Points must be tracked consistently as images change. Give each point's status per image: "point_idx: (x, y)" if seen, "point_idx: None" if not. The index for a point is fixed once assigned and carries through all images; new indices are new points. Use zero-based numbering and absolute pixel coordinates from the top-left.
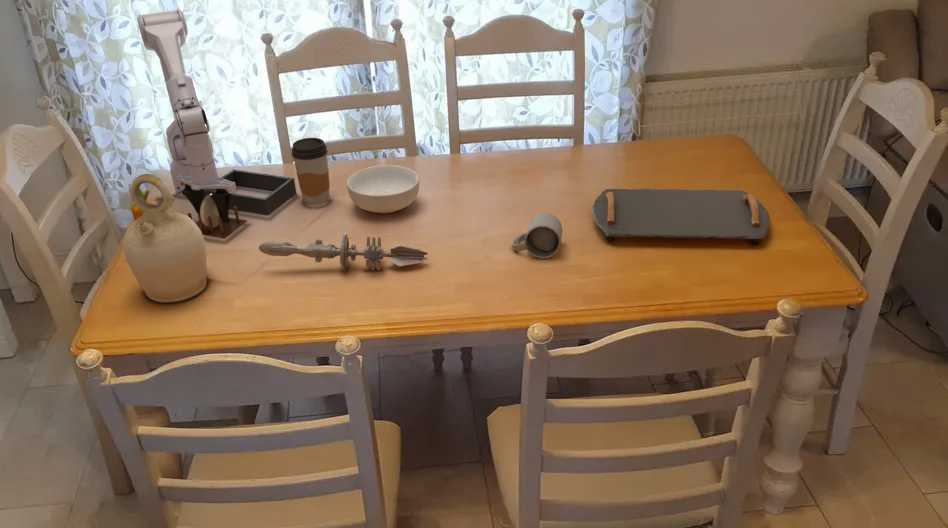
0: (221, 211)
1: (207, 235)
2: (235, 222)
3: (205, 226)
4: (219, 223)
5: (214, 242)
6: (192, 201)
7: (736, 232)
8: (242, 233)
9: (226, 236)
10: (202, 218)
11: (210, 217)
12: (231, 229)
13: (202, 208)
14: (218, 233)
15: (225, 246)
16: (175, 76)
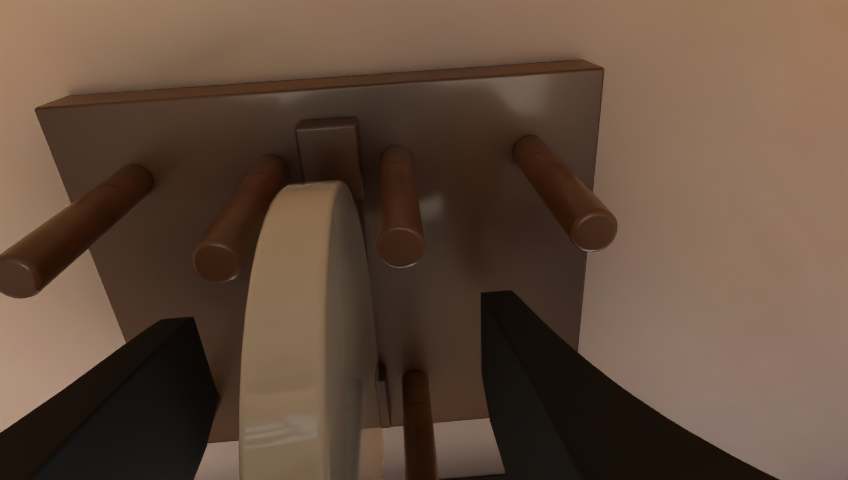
0: (39, 408)
1: (274, 93)
2: (232, 391)
3: (438, 240)
4: (47, 222)
5: (190, 66)
6: (603, 431)
7: None
8: (105, 303)
9: (55, 154)
10: (299, 196)
11: (192, 259)
12: (151, 288)
13: (268, 329)
14: (199, 176)
15: (6, 37)
16: None
